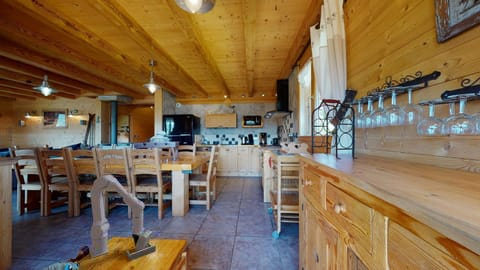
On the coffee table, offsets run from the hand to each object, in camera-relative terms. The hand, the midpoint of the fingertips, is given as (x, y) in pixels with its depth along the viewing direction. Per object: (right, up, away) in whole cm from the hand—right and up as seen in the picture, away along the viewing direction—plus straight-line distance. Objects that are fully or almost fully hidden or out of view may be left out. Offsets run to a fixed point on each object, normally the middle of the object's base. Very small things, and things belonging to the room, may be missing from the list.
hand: (137, 246), depth 111 cm
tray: (+5, -1, -5) cm, 7 cm away
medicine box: (+3, 0, -1) cm, 3 cm away
